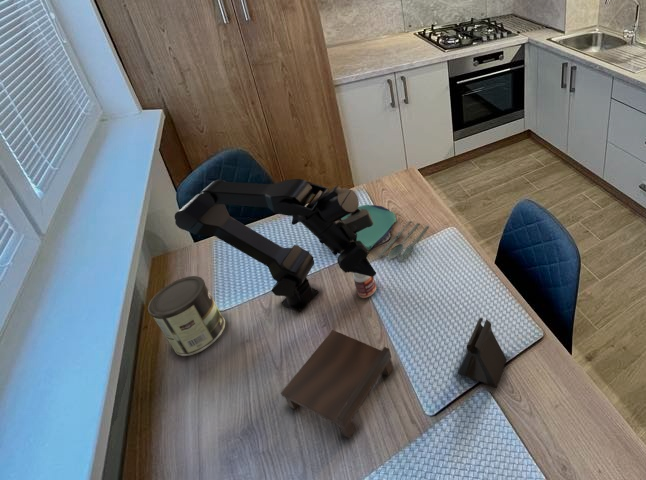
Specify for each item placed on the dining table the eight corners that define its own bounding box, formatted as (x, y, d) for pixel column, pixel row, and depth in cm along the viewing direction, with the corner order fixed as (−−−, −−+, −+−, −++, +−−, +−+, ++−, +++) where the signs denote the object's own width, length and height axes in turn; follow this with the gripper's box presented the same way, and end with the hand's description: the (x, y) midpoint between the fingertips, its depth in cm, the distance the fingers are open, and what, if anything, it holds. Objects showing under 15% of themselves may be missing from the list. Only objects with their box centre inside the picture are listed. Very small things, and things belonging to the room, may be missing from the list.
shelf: (287, 407, 82) (277, 387, 79) (337, 343, 94) (330, 323, 91) (349, 440, 77) (341, 420, 73) (394, 368, 88) (389, 348, 85)
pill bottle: (370, 299, 104) (364, 276, 100) (354, 296, 105) (347, 274, 101) (379, 284, 108) (374, 261, 104) (363, 281, 109) (357, 259, 105)
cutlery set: (359, 203, 138) (358, 198, 137) (434, 226, 127) (433, 220, 126) (313, 245, 121) (311, 239, 120) (395, 275, 110) (393, 269, 109)
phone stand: (506, 360, 89) (504, 325, 84) (496, 388, 84) (493, 352, 79) (469, 347, 92) (465, 312, 87) (457, 373, 87) (452, 338, 81)
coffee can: (209, 309, 103) (187, 269, 97) (234, 324, 99) (214, 284, 93) (163, 345, 95) (137, 305, 88) (190, 364, 91) (164, 323, 84)
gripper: (362, 209, 88) (406, 254, 94) (346, 191, 104) (385, 231, 110) (319, 249, 84) (368, 294, 89) (310, 224, 100) (352, 264, 105)
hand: (370, 267), depth 98 cm, fingers open, 9 cm apart
